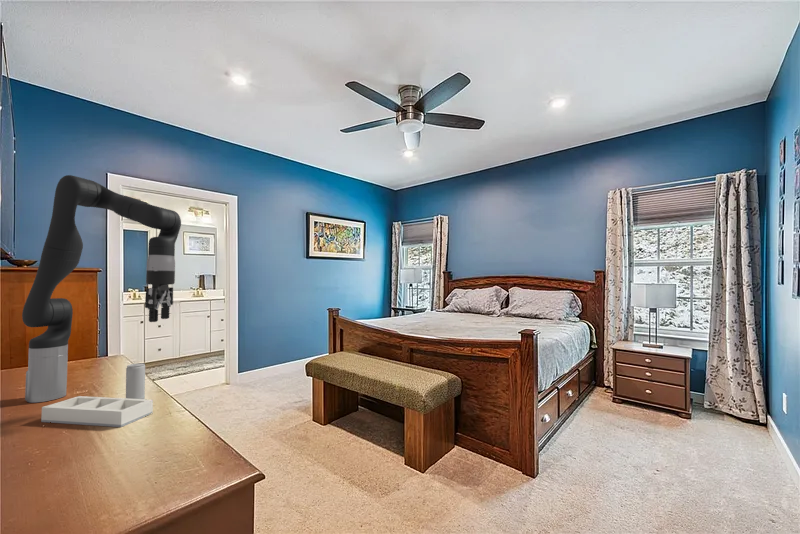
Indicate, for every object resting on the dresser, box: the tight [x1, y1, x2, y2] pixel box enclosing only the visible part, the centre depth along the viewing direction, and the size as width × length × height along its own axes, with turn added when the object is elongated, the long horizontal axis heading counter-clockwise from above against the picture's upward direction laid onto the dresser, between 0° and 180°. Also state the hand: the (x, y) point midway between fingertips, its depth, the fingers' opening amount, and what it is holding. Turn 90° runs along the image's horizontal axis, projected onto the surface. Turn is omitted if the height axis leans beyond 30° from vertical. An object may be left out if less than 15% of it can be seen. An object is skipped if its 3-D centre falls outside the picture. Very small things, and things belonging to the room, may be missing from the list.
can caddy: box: [40, 395, 154, 428], centre depth 97 cm, size 26×9×4 cm, turn 81°
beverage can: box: [125, 362, 146, 399], centre depth 109 cm, size 5×5×12 cm
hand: (159, 320), depth 110 cm, fingers open, 8 cm apart
